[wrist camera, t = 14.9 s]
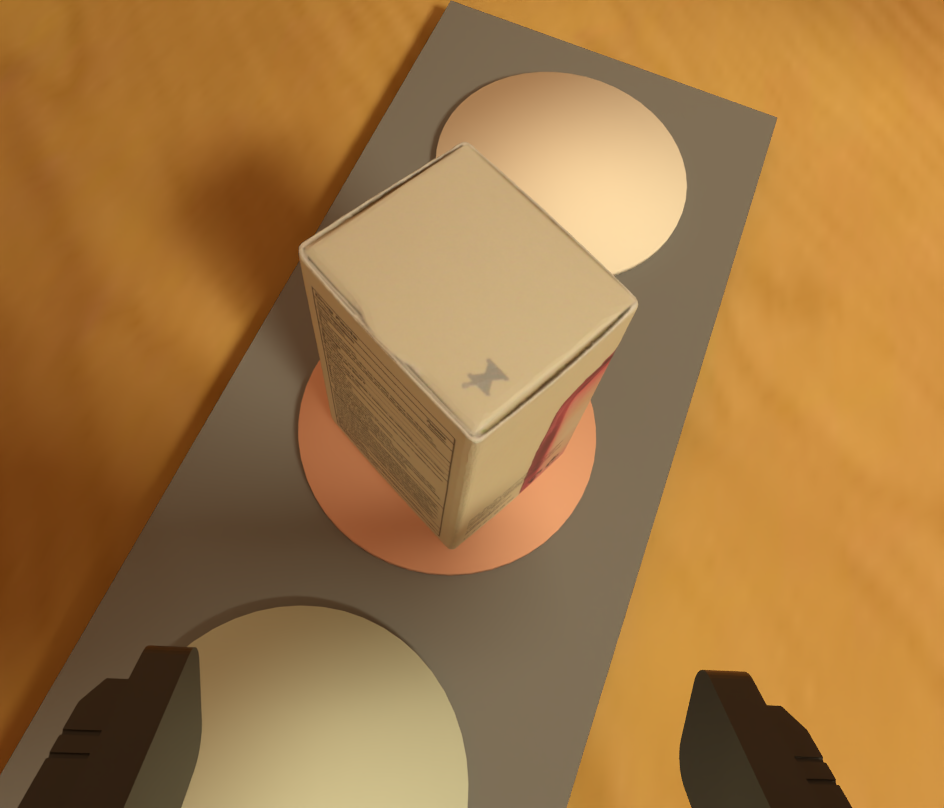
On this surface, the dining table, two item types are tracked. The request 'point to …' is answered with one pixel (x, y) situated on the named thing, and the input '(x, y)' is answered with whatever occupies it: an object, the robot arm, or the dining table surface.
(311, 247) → the small box
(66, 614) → the dining table surface
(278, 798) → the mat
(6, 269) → the dining table surface
